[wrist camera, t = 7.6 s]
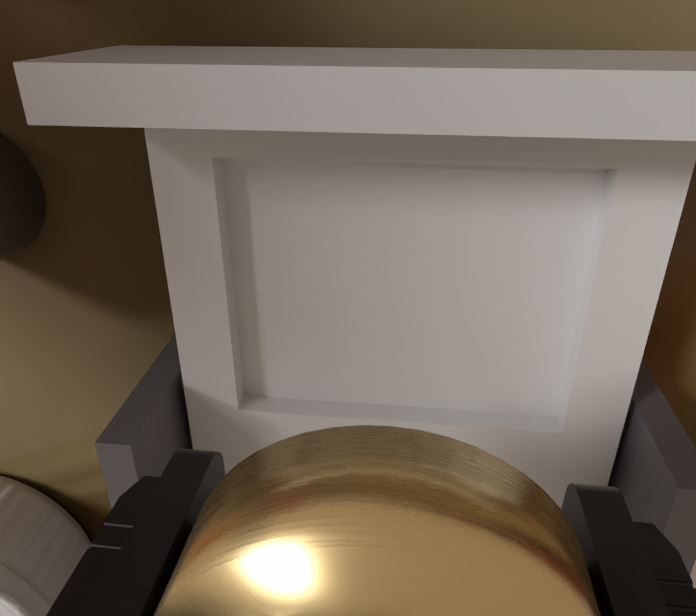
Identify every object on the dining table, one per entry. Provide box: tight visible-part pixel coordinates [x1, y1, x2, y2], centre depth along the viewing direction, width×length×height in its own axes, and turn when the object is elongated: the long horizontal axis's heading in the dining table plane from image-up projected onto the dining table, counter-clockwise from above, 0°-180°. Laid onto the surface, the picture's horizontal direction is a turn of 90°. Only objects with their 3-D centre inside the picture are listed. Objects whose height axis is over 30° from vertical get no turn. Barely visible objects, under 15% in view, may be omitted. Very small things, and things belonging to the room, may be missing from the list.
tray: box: [13, 45, 696, 509], centre depth 16 cm, size 14×16×5 cm
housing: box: [95, 334, 696, 575], centre depth 21 cm, size 14×16×7 cm
